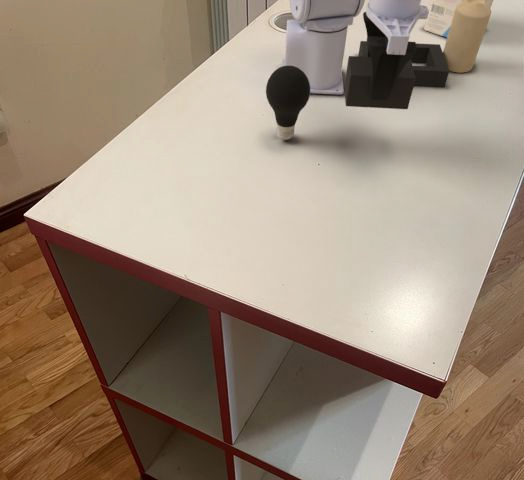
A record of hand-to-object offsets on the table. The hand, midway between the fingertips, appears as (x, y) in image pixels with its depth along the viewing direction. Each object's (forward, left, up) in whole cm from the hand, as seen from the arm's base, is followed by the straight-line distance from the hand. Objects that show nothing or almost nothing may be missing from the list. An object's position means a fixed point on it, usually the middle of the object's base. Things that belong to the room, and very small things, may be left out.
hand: (377, 87), depth 67 cm
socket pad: (+8, +23, -8) cm, 25 cm away
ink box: (+20, +40, -9) cm, 45 cm away
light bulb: (-11, +1, -9) cm, 14 cm away
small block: (0, 0, -1) cm, 1 cm away
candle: (+18, +26, -9) cm, 32 cm away
